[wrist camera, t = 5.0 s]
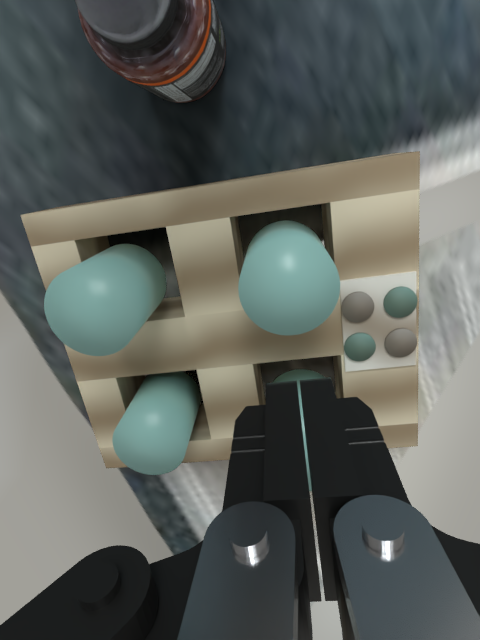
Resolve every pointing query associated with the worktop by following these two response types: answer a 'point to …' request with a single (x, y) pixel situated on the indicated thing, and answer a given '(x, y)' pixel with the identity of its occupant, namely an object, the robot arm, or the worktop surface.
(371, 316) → the console
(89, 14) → the supplement bottle
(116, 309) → the button
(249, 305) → the button
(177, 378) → the button
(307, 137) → the worktop surface
